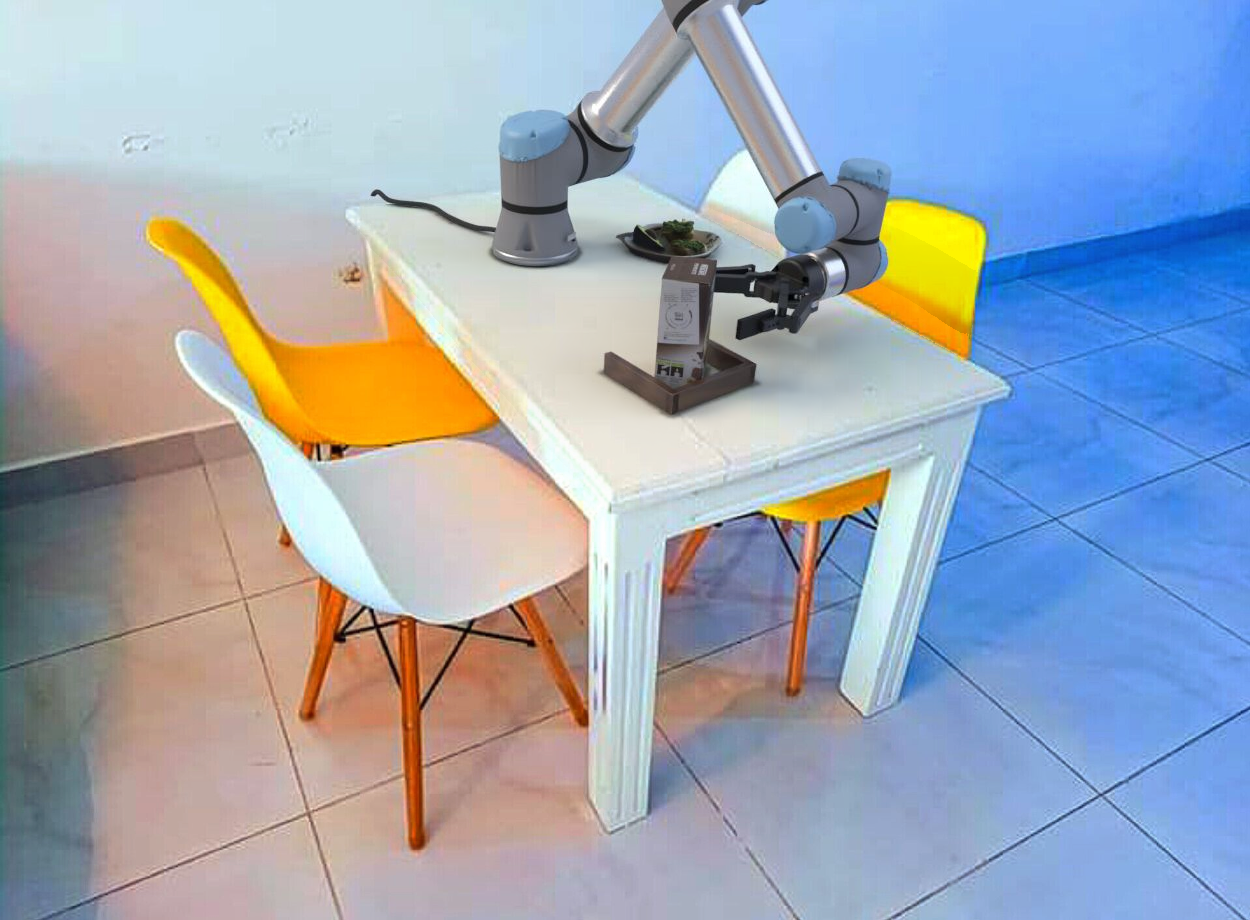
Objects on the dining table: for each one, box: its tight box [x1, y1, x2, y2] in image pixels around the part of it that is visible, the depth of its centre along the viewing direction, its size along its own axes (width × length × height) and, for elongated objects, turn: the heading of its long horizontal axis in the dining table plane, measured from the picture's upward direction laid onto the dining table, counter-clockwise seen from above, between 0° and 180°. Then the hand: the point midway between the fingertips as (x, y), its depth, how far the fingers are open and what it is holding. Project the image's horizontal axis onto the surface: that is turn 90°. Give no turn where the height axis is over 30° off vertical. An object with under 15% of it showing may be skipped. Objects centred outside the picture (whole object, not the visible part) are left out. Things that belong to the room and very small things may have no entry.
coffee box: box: [653, 256, 718, 389], centre depth 122 cm, size 9×6×16 cm
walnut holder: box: [603, 338, 757, 416], centre depth 126 cm, size 14×15×3 cm
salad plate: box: [615, 218, 723, 265], centre depth 170 cm, size 19×18×5 cm
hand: (702, 312), depth 123 cm, fingers open, 13 cm apart
